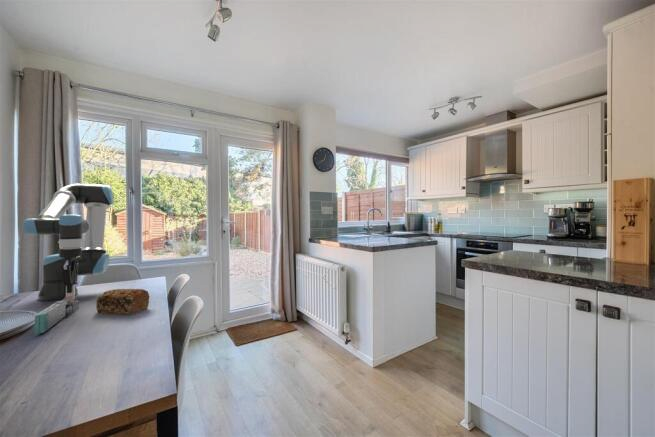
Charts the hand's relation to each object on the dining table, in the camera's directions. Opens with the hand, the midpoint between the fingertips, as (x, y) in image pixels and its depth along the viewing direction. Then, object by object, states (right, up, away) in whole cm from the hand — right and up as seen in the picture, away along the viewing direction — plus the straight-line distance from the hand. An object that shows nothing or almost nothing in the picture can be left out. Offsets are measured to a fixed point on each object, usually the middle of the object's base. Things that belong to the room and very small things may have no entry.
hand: (70, 299), depth 122 cm
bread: (+23, -6, +1) cm, 24 cm away
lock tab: (+1, -1, -2) cm, 2 cm away
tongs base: (+6, -5, -11) cm, 14 cm away
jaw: (+8, -5, -14) cm, 17 cm away
